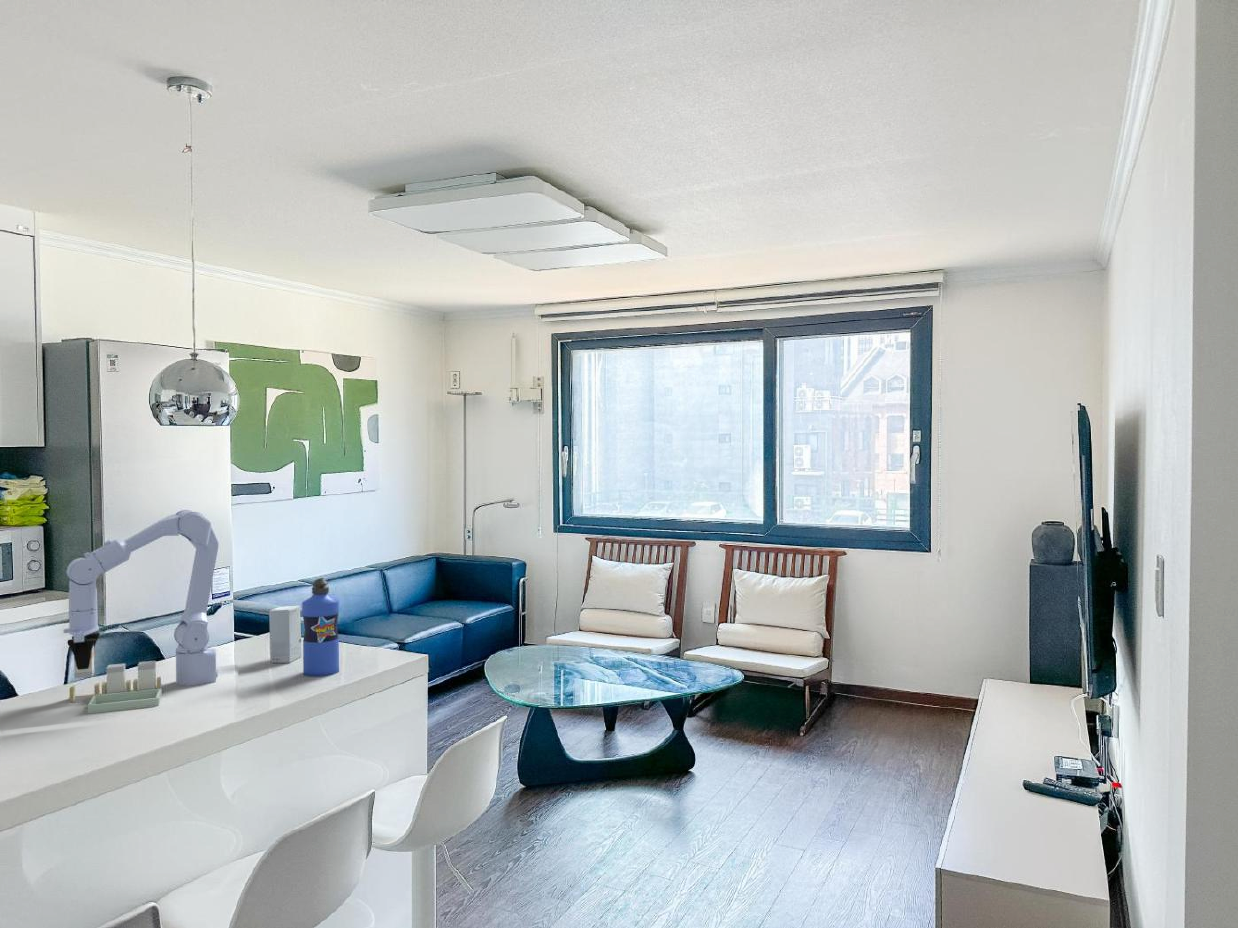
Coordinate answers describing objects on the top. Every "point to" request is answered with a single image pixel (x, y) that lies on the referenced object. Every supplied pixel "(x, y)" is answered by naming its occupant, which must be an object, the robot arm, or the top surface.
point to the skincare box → (285, 634)
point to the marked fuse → (85, 672)
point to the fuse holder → (105, 690)
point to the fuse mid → (116, 678)
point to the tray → (125, 704)
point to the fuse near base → (147, 675)
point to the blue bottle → (320, 632)
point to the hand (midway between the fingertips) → (84, 666)
